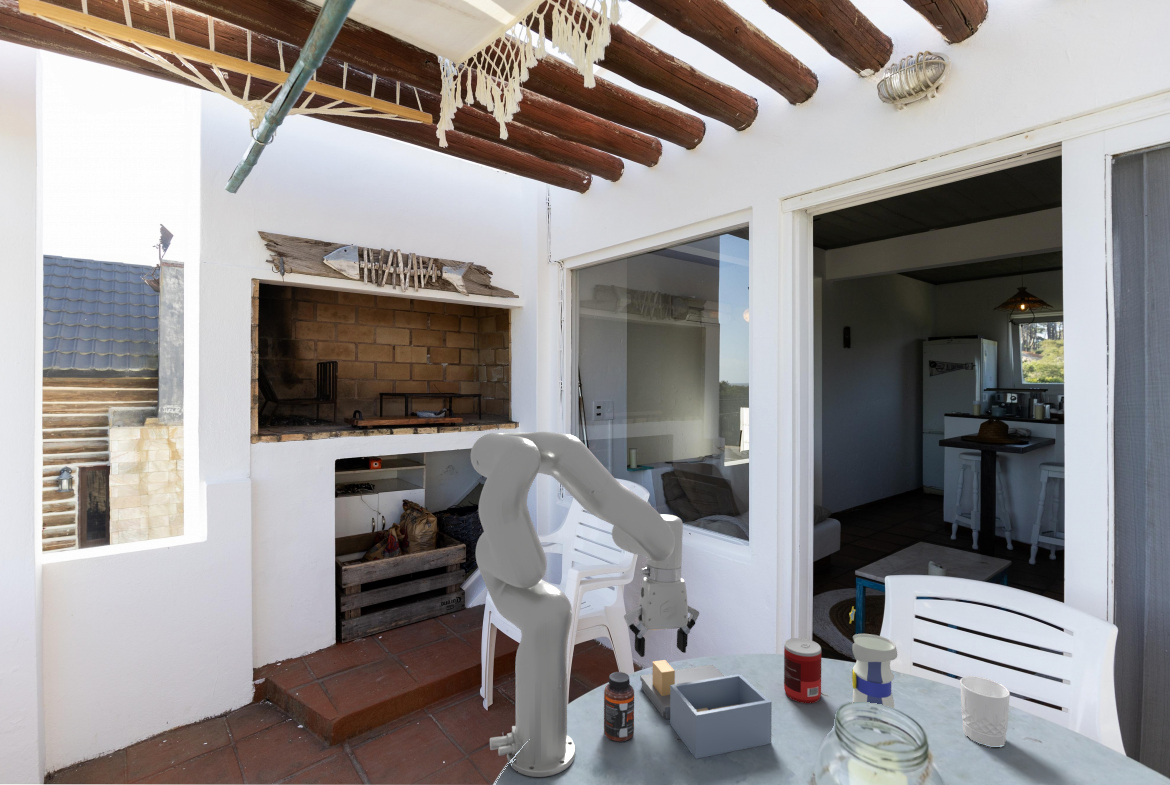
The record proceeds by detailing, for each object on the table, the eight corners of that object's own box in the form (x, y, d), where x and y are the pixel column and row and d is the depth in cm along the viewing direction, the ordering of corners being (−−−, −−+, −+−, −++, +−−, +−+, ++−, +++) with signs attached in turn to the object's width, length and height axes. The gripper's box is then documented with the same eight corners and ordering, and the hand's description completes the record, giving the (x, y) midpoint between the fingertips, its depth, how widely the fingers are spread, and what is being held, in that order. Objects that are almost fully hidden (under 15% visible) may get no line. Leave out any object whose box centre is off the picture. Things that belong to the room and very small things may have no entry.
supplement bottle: (632, 745, 107) (632, 686, 107) (601, 741, 108) (601, 682, 108) (635, 726, 113) (635, 670, 113) (606, 723, 114) (606, 667, 114)
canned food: (824, 691, 126) (824, 642, 126) (817, 708, 119) (817, 656, 119) (788, 681, 130) (788, 634, 130) (780, 697, 124) (780, 647, 124)
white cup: (965, 720, 115) (965, 672, 115) (1012, 737, 110) (1013, 686, 109) (955, 737, 110) (955, 686, 110) (1005, 756, 104) (1005, 702, 104)
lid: (664, 719, 115) (665, 683, 115) (640, 686, 128) (640, 653, 128) (743, 705, 120) (743, 670, 120) (712, 675, 133) (712, 643, 133)
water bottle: (849, 749, 106) (850, 617, 106) (847, 724, 114) (848, 601, 114) (899, 760, 103) (900, 624, 102) (893, 734, 111) (894, 607, 110)
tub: (695, 758, 103) (696, 715, 103) (670, 724, 114) (670, 685, 114) (771, 743, 108) (771, 701, 108) (739, 711, 118) (740, 673, 118)
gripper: (632, 580, 116) (629, 663, 116) (707, 576, 121) (705, 656, 121) (620, 569, 123) (617, 648, 123) (691, 566, 128) (689, 641, 128)
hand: (660, 652), depth 122 cm, fingers open, 9 cm apart
